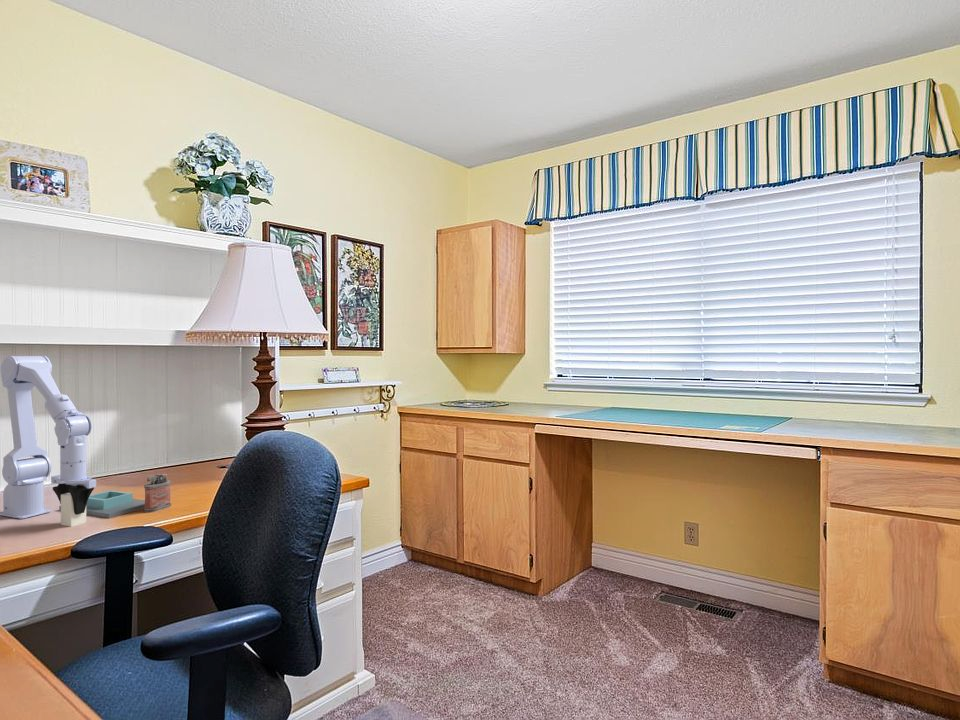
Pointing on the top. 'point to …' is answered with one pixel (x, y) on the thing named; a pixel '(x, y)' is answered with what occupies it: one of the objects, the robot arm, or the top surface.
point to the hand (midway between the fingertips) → (73, 512)
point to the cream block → (70, 512)
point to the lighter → (157, 493)
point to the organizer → (112, 504)
